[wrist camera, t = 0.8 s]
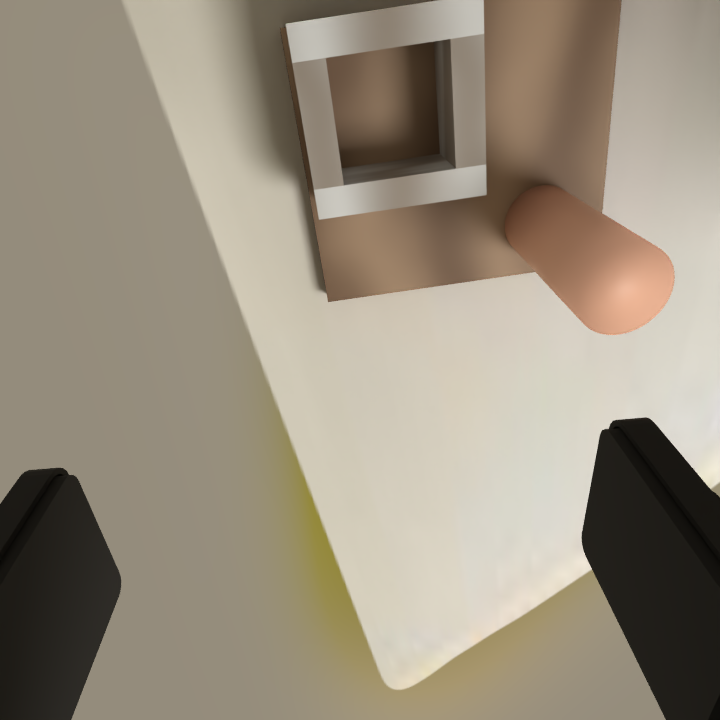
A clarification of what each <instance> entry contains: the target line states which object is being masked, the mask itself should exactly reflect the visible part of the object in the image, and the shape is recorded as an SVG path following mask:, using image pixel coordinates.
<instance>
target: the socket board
mask: <svg viewBox="0 0 720 720" xmlns="http://www.w3.org/2000/svg"><path fill="white" fill-rule="evenodd" d="M620 11H621V0H437V1H430V2H424V3H417V4H411V5H404V6H398V7H391V8H385V9H378V10H372V11H365V12H359V13H352V14H346V15H339V16H333V17H326V18H320V19H313V20H306V21H300V22H293V23H287V24H286V27H284V28H280V30H281V36H282V42H283V48H284V53H285V59H286V65H287V70H288V76H289V82H290V87H291V93H292V99H293V104H294V110H295V116H296V121H297V127H298V133H299V139H300V144H301V150H302V156H303V161H304V167H305V173H306V178H307V184H308V190H309V195H310V201H311V207H312V213H313V218H314V224H315V230H316V235H317V241H318V247H319V252H320V258H321V264H322V269H323V275H324V281H325V286H326V292H327V298H328V302H331V301H338V300H345V299H352V298H359V297H366V296H372V295H379V294H386V293H393V292H400V291H407V290H414V289H421V288H428V287H434V286H441V285H448V284H455V283H462V282H469V281H476V280H483V279H490V278H497V277H503V276H510V275H517V274H524V273H531V272H535V271H534V270H533V269H532V268H531V267H530V266H529V264H528V263H527V262H526V261H525V260H524V259H523V258H522V257H521V256H520V255H519V254H518V253H517V252H516V250H515V249H514V248H513V247H512V246H511V245H510V243H509V242H508V240H507V238H506V234H505V219H506V215H507V212H508V210H509V208H510V206H511V205H512V203H513V202H514V201H515V200H516V198H517V197H518V196H520V195H521V194H522V193H523V192H525V191H527V190H528V189H530V188H533V187H536V186H540V185H553V186H556V187H559V188H561V189H563V190H565V191H566V192H568V193H569V194H571V195H573V196H574V197H576V198H578V199H579V200H581V201H583V202H584V203H586V204H588V205H589V206H591V207H592V208H594V209H596V210H597V211H599V212H601V213H602V208H603V197H604V186H605V175H606V164H607V153H608V143H609V132H610V121H611V110H612V99H613V88H614V77H615V66H616V55H617V44H618V33H619V22H620Z"/></svg>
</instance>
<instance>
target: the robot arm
mask: <svg viewBox="0 0 720 720" xmlns="http://www.w3.org/2000/svg"><path fill="white" fill-rule="evenodd" d="M582 545H583V549H584V553H585V555H586V557H587V560H588V562H589V564H590V566H591V568H592V570H593V572H594V574H595V576H596V578H597V580H598V582H599V584H600V586H601V588H602V590H603V592H604V594H605V596H606V598H607V600H608V602H609V604H610V606H611V608H612V611H613V613H614V614H615V617H616V619H617V621H618V623H619V625H620V627H621V629H622V631H623V632H624V635H625V637H626V639H627V641H628V643H629V645H630V647H631V649H632V651H633V653H634V655H635V657H636V660H637V662H638V663H639V666H640V668H641V670H642V672H643V674H644V676H645V678H646V680H647V682H648V684H649V686H650V688H651V690H652V692H653V694H654V696H655V698H656V700H657V702H658V704H659V706H660V709H661V711H662V712H663V715H664V717H665V719H666V720H720V497H719V496H718V495H717V494H716V493H714V492H713V491H711V490H710V488H709V487H708V486H707V485H706V484H705V482H704V481H703V480H702V479H701V478H700V477H699V475H698V474H697V473H696V472H695V471H694V469H693V468H692V467H691V466H690V465H689V463H688V462H687V461H686V460H685V459H684V457H683V456H682V455H681V454H680V453H679V452H678V450H677V449H676V448H675V447H674V446H673V444H672V443H671V442H670V441H669V440H668V438H667V437H666V436H665V435H664V434H663V433H662V431H661V430H660V429H659V428H658V427H657V425H656V424H655V423H654V422H653V421H652V420H651V419H649V418H635V419H623V420H615V421H613V422H612V423H611V424H610V427H609V429H605V430H602V432H601V434H600V438H599V444H598V449H597V454H596V460H595V465H594V471H593V476H592V482H591V487H590V493H589V498H588V503H587V509H586V514H585V520H584V525H583V531H582ZM120 590H121V577H120V574H119V571H118V568H117V566H116V564H115V562H114V560H113V557H112V555H111V553H110V550H109V548H108V546H107V544H106V541H105V539H104V537H103V535H102V532H101V530H100V528H99V526H98V523H97V521H96V519H95V517H94V514H93V512H92V510H91V508H90V505H89V503H88V501H87V498H86V496H85V494H84V492H83V489H82V487H81V485H80V483H79V481H78V479H77V477H75V476H74V475H69V474H68V472H67V471H66V470H65V469H63V468H50V469H38V470H28V471H26V472H24V473H23V474H22V475H21V476H20V477H19V479H18V480H17V482H16V483H15V484H14V486H13V487H12V488H11V490H10V491H9V493H8V494H7V496H6V497H5V498H4V500H3V501H2V502H1V504H0V720H71V719H72V716H73V714H74V711H75V708H76V706H77V703H78V701H79V698H80V695H81V693H82V690H83V688H84V685H85V683H86V680H87V677H88V675H89V672H90V670H91V667H92V664H93V662H94V659H95V657H96V654H97V651H98V649H99V646H100V644H101V641H102V638H103V636H104V633H105V631H106V628H107V626H108V623H109V620H110V618H111V615H112V613H113V610H114V608H115V605H116V602H117V600H118V597H119V594H120Z"/></svg>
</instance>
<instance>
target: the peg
mask: <svg viewBox="0 0 720 720" xmlns="http://www.w3.org/2000/svg"><path fill="white" fill-rule="evenodd" d="M505 234H506V238H507V240H508V242H509V243H510V245H511V246H512V247H513V248H514V249H515V250H516V252H517V253H518V254H519V255H520V256H521V257H522V258H523V259H524V260H525V261H526V262H527V263H528V264H529V266H530V267H531V268H532V269H533V270H534V271H535V272H536V273H537V274H538V275H539V276H540V277H541V278H542V280H543V281H544V282H545V283H546V284H547V285H548V286H549V287H550V288H551V289H552V290H553V291H554V292H555V294H556V295H557V296H558V297H559V298H560V299H561V300H562V301H563V302H564V303H565V304H566V305H567V306H568V307H569V309H570V310H571V311H572V312H573V313H574V314H575V315H576V316H577V317H578V318H579V319H580V320H581V321H582V323H583V324H584V325H585V326H587V327H588V328H589V329H591V330H593V331H595V332H597V333H601V334H606V335H617V334H623V333H627V332H631V331H633V330H636V329H638V328H640V327H641V326H643V325H645V324H646V323H648V322H649V321H650V320H652V319H653V318H654V317H655V316H656V315H657V314H658V313H659V312H660V311H661V310H662V308H663V307H664V306H665V304H666V303H667V301H668V299H669V297H670V295H671V292H672V290H673V286H674V278H675V277H674V268H673V265H672V262H671V260H670V258H669V257H668V256H667V254H666V253H665V252H664V251H662V250H661V249H660V248H658V247H656V246H655V245H653V244H652V243H650V242H648V241H647V240H645V239H643V238H642V237H640V236H638V235H637V234H635V233H633V232H632V231H630V230H629V229H627V228H625V227H624V226H622V225H620V224H619V223H617V222H615V221H614V220H612V219H611V218H609V217H607V216H606V215H604V214H602V213H601V212H599V211H597V210H596V209H594V208H592V207H591V206H589V205H588V204H586V203H584V202H583V201H581V200H579V199H578V198H576V197H574V196H573V195H571V194H569V193H568V192H566V191H565V190H563V189H561V188H559V187H556V186H553V185H540V186H536V187H533V188H530V189H528V190H527V191H525V192H523V193H522V194H521V195H520V196H518V197H517V198H516V200H515V201H514V202H513V203H512V205H511V206H510V208H509V210H508V212H507V215H506V219H505Z"/></svg>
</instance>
